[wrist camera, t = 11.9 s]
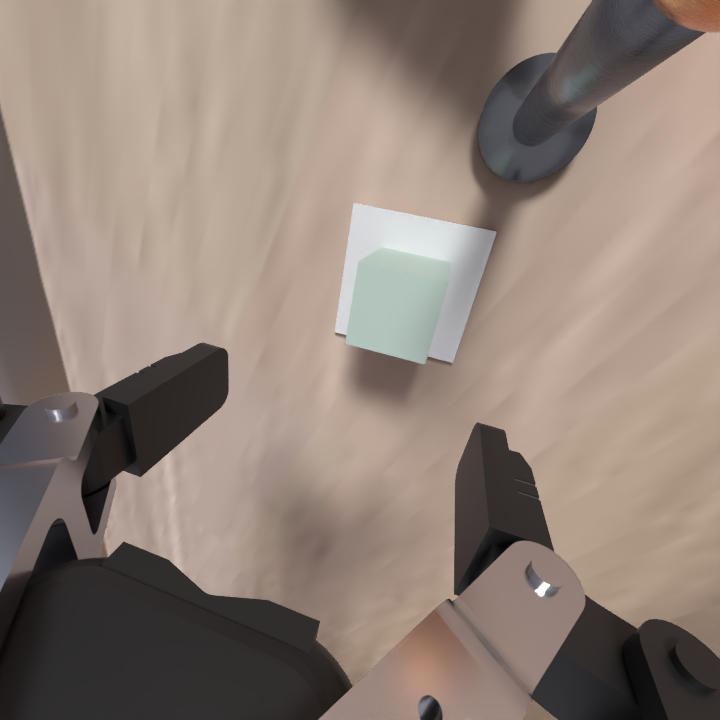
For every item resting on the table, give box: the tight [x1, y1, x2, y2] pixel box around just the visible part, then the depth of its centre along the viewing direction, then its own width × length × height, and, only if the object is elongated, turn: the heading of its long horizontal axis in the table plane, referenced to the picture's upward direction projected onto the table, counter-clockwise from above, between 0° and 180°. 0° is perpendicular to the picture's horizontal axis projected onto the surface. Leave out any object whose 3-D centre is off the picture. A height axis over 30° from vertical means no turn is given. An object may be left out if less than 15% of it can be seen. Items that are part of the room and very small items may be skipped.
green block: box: [345, 247, 450, 365], centre depth 22 cm, size 5×5×7 cm
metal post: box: [478, 0, 720, 183], centre depth 11 cm, size 6×6×20 cm
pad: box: [335, 203, 497, 363], centre depth 26 cm, size 10×10×1 cm
